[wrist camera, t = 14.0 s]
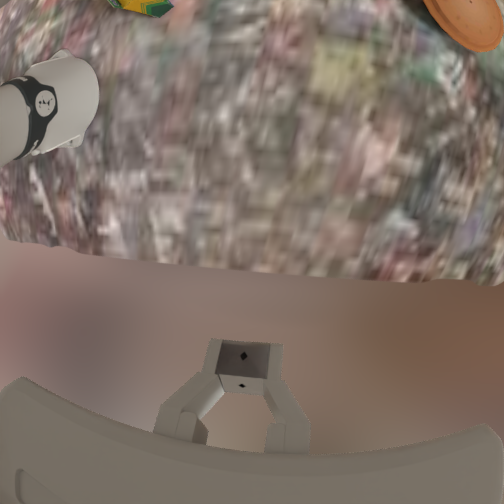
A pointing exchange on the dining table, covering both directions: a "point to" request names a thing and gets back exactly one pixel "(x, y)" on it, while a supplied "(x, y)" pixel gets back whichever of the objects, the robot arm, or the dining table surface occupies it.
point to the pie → (469, 22)
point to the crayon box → (144, 6)
